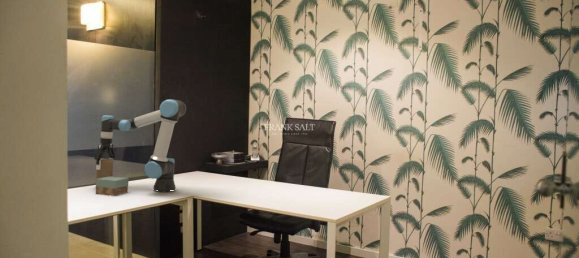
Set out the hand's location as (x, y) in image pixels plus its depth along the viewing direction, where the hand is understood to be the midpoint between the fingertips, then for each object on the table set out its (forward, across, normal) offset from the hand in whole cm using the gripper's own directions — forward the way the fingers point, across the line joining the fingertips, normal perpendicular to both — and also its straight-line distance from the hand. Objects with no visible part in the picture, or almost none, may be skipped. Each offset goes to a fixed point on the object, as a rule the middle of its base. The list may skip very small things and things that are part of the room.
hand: (104, 168), depth 296 cm
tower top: (+9, +12, +14) cm, 21 cm away
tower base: (+14, +12, +15) cm, 23 cm away
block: (+14, 0, +1) cm, 14 cm away
